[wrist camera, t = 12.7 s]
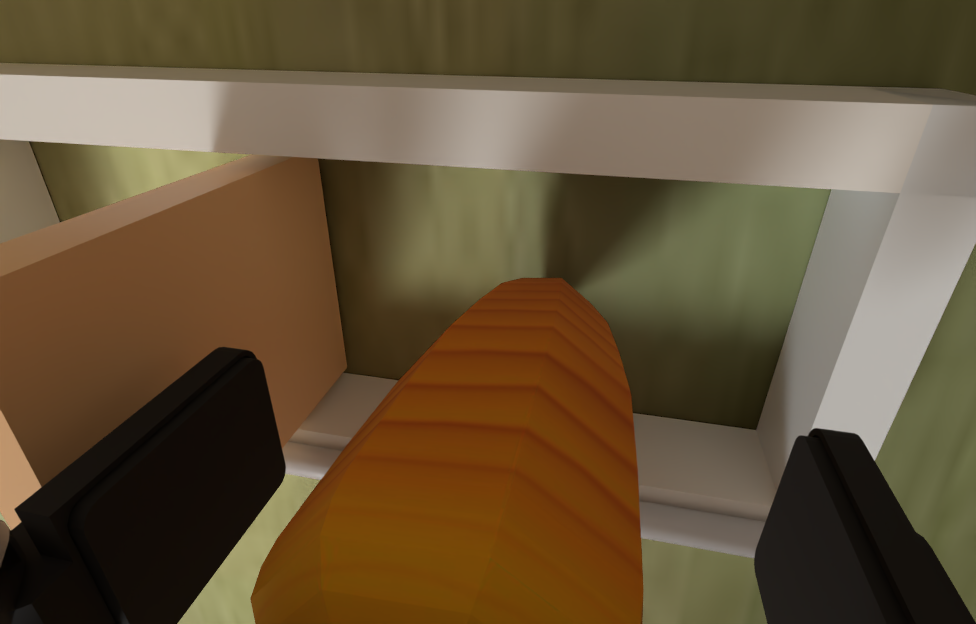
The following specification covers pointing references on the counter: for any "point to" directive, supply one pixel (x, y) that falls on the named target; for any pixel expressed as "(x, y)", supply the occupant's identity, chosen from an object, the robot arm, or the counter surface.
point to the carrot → (479, 484)
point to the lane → (610, 152)
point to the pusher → (163, 309)
